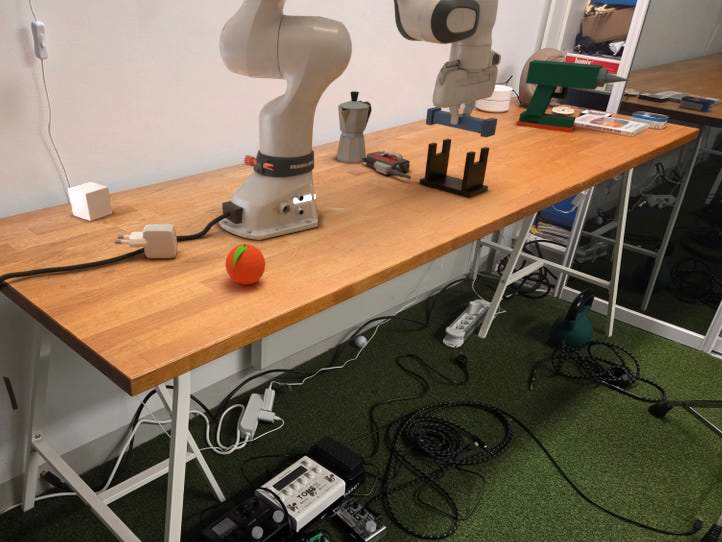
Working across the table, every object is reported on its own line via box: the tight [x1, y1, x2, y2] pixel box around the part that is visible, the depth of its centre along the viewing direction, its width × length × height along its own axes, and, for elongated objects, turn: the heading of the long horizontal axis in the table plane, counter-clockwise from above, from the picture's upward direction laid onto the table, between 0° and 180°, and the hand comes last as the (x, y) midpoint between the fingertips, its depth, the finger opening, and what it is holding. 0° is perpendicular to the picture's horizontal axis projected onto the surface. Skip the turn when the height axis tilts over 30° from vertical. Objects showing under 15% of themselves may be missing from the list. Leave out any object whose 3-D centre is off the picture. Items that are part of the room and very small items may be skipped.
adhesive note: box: [67, 181, 113, 222], centre depth 134 cm, size 6×6×6 cm
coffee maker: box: [336, 90, 373, 164], centre depth 170 cm, size 15×9×18 cm, turn 143°
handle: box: [425, 106, 498, 138], centre depth 144 cm, size 4×17×4 cm, turn 43°
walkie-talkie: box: [362, 150, 412, 180], centre depth 163 cm, size 9×4×20 cm
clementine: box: [225, 243, 266, 285], centre depth 105 cm, size 8×7×7 cm
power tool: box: [515, 59, 632, 133], centre depth 202 cm, size 32×7×20 cm, turn 58°
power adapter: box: [114, 223, 178, 259], centre depth 115 cm, size 11×5×6 cm, turn 93°
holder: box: [418, 138, 490, 199], centre depth 151 cm, size 8×15×10 cm, turn 44°
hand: (460, 122), depth 144 cm, fingers closed on handle, 2 cm apart
